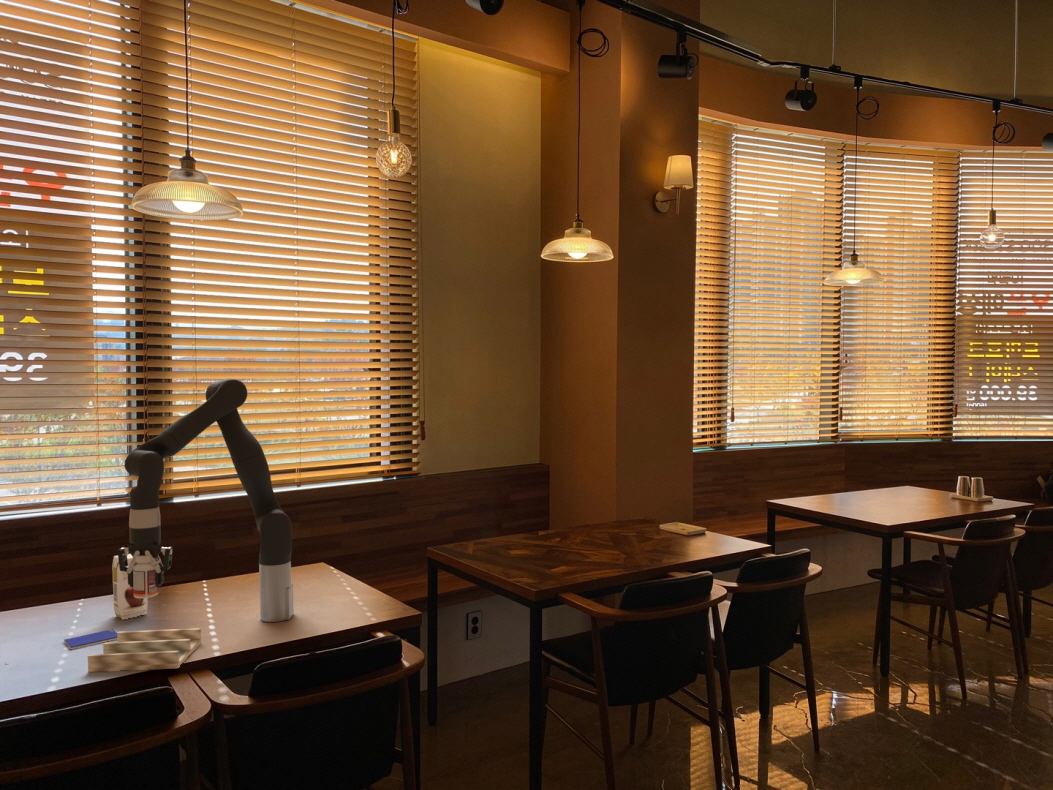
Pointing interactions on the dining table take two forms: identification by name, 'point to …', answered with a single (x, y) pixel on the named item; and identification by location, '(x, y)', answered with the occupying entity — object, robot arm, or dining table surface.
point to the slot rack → (146, 650)
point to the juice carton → (125, 594)
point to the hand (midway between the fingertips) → (145, 585)
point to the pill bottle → (144, 578)
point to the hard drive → (91, 639)
